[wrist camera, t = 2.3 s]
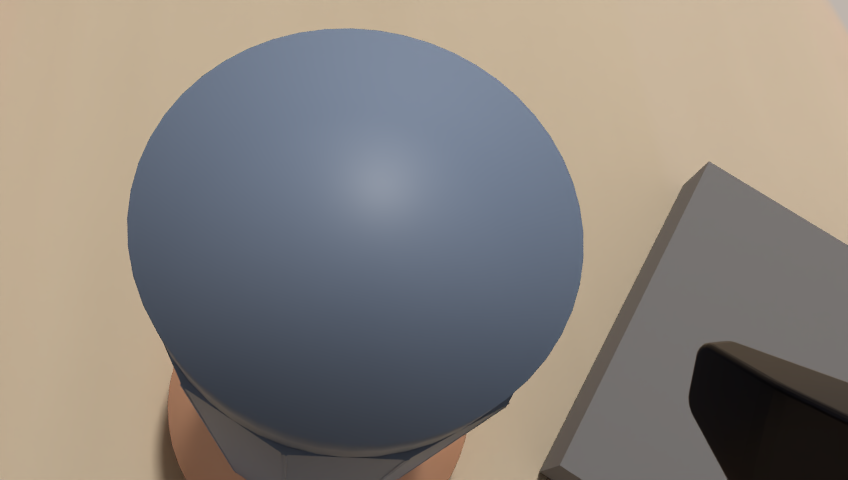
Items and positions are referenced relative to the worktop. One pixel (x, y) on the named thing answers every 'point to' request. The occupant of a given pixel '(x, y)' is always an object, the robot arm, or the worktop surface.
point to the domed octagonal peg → (351, 251)
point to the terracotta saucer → (214, 474)
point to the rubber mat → (703, 329)
